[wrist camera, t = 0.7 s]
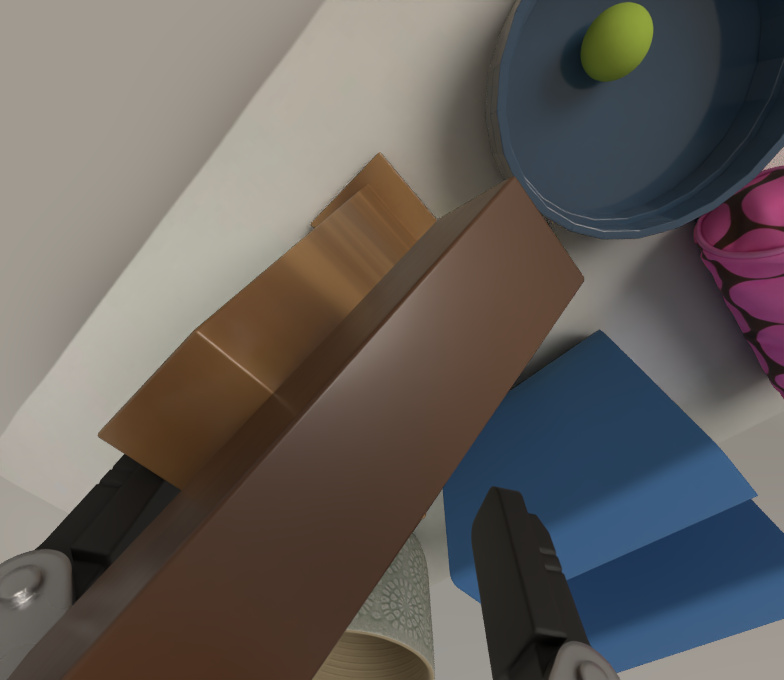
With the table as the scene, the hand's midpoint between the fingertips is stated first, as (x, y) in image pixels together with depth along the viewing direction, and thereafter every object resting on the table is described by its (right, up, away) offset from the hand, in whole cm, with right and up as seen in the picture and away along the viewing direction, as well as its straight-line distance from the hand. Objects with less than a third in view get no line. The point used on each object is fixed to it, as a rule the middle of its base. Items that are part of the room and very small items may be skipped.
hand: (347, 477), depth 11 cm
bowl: (+18, +22, +17) cm, 33 cm away
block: (+19, -5, +31) cm, 36 cm away
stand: (0, +14, +22) cm, 26 cm away
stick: (0, +2, -4) cm, 4 cm away
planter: (-2, -23, +41) cm, 47 cm away
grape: (+16, +23, +14) cm, 31 cm away
